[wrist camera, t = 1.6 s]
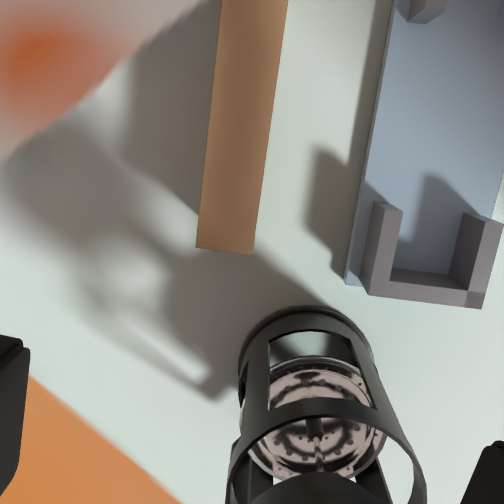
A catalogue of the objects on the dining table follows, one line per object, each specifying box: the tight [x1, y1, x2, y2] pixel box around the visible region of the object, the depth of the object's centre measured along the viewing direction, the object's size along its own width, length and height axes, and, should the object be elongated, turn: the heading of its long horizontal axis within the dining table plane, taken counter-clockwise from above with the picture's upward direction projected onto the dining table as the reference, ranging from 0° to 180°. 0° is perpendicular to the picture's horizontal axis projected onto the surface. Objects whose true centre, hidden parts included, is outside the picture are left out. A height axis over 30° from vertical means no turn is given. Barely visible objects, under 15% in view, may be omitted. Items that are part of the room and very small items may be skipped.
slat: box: [196, 0, 288, 255], centre depth 25 cm, size 3×16×6 cm, turn 172°
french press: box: [225, 305, 427, 504], centre depth 21 cm, size 12×9×23 cm
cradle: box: [343, 0, 504, 309], centre depth 26 cm, size 8×21×4 cm, turn 173°
